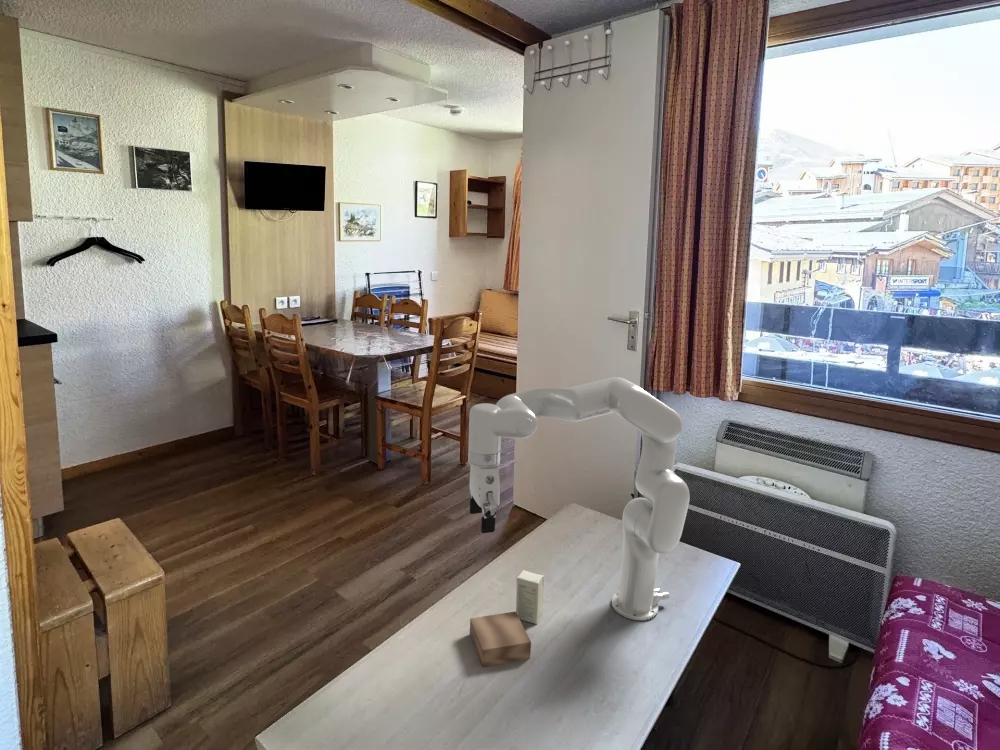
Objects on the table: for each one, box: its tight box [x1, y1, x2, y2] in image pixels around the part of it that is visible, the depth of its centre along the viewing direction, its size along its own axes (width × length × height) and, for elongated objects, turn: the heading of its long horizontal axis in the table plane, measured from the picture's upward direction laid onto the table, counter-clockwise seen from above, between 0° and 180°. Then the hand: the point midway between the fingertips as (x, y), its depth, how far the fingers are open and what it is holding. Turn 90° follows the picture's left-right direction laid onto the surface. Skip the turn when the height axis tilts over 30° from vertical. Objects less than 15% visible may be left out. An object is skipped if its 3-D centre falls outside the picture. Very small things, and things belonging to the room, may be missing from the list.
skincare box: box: [515, 569, 545, 625], centre depth 162 cm, size 6×4×12 cm
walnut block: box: [469, 610, 532, 668], centre depth 151 cm, size 12×12×5 cm
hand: (481, 522), depth 149 cm, fingers open, 9 cm apart
